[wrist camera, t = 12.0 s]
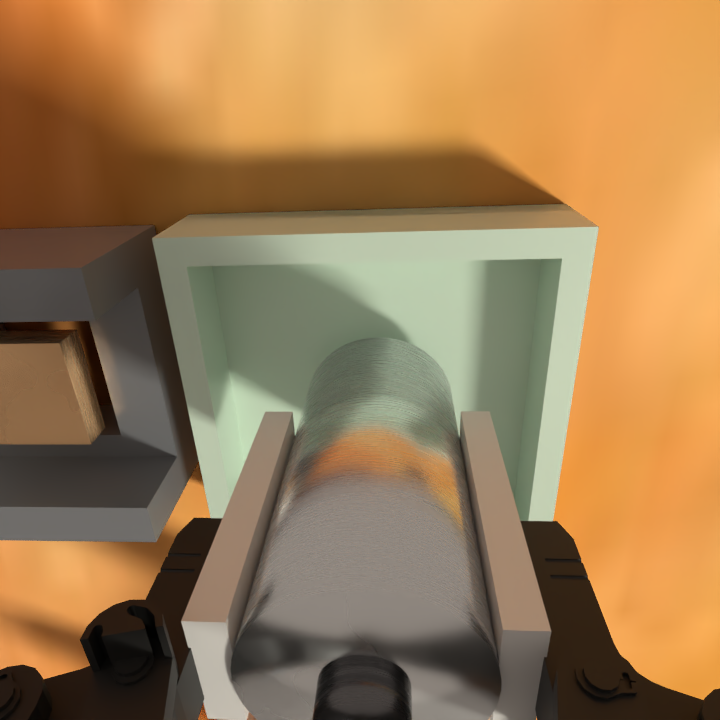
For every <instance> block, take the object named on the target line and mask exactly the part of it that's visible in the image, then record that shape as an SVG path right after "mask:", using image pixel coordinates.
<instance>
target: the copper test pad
mask: <svg viewBox="0 0 720 720" xmlns="http://www.w3.org/2000/svg"><path fill="white" fill-rule="evenodd" d="M104 428H105V423H104V420H103V417H102V413H101V410H100V406H99V403H98V400H97V396H96V393H95V389H94V386H93V383H92V379H91V376H90V372H89V369H88V366H87V362H86V359H85V355H84V352H83V349H82V345H81V342H80V338H79V335H78V332H77V330H22V331H0V444H92V443H93V441H94V440H95V439H96V438H97V437H98V436H99V434H100V433H101V432H102V431H103V430H104Z"/></svg>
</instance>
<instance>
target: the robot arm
mask: <svg viewBox="0 0 720 720" xmlns="http://www.w3.org/2000/svg"><path fill="white" fill-rule="evenodd" d="M294 438H295V429H294V420H293V412H265V414H264V416H263V418H262V421H261V423H260V426H259V428H258V431H257V433H256V436H255V438H254V441H253V443H252V446H251V448H250V451H249V453H248V456H247V458H246V461H245V463H244V466H243V468H242V471H241V473H240V476H239V478H238V481H237V483H236V486H235V488H234V491H233V493H232V496H231V498H230V501H229V503H228V506H227V508H226V511H225V513H224V516H223V518H194V519H193V520H191V521H190V522H189V523H188V524H187V525H186V526H185V527H184V528H183V529H182V530H181V531H180V532H179V533H178V534H177V536H176V538H175V540H174V542H173V544H172V546H171V548H170V550H169V553H168V557H166V559H165V561H164V563H163V565H162V567H161V572H160V573H158V575H157V577H156V579H155V581H154V583H153V585H152V587H151V590H150V592H149V594H148V596H147V598H146V600H128V601H125V602H122V603H118V604H115V605H113V606H111V607H110V608H108V609H107V610H105V611H103V612H102V613H100V614H99V615H98V616H97V617H96V618H95V619H94V620H93V621H92V622H91V623H90V624H89V625H88V626H87V628H86V630H85V631H84V633H83V635H82V637H81V639H80V641H81V644H82V646H83V648H84V651H85V653H86V656H87V658H88V661H89V663H90V666H88V667H86V668H83V669H80V670H77V671H73V672H69V673H66V674H62V675H58V676H55V677H51V678H47V679H44V680H43V678H42V676H41V675H40V674H39V672H38V671H37V670H36V669H35V668H33V667H29V666H26V665H18V666H11V667H6V668H4V669H1V670H0V720H198V717H199V714H200V711H201V708H202V704H203V703H204V707H205V710H206V714H207V718H208V719H227V720H247V718H248V714H249V711H248V710H247V709H246V707H245V706H244V705H243V703H242V702H241V701H240V699H239V697H238V695H237V693H236V691H235V688H234V685H233V682H232V677H231V658H232V655H233V651H234V648H235V644H236V641H237V637H238V634H239V630H240V627H241V623H242V620H243V616H244V613H245V609H246V606H247V602H248V599H249V595H250V592H251V588H252V585H253V581H254V578H255V574H256V571H257V567H258V564H259V560H260V557H261V554H262V550H263V547H264V543H265V540H266V536H267V533H268V529H269V526H270V522H271V519H272V515H273V512H274V508H275V505H276V501H277V498H278V494H279V491H280V487H281V484H282V480H283V477H284V473H285V470H286V466H287V463H288V459H289V456H290V452H291V449H292V445H293V442H294ZM459 439H460V445H461V450H462V456H463V462H464V467H465V473H466V479H467V485H468V490H469V496H470V502H471V508H472V513H473V519H474V525H475V531H476V536H477V542H478V548H479V554H480V559H481V565H482V571H483V577H484V582H485V588H486V594H487V600H488V605H489V611H490V617H491V623H492V628H493V634H494V640H495V646H496V651H497V657H498V663H499V668H500V674H501V693H500V697H499V701H498V704H497V706H496V708H495V710H494V712H493V713H492V715H491V716H490V720H536V716H537V720H720V689H715V690H713V691H712V692H711V693H710V694H709V695H708V696H707V697H706V698H705V699H704V700H701V699H698V698H695V697H692V696H689V695H686V694H683V693H680V692H677V691H674V690H671V689H668V688H665V687H663V686H660V685H658V684H656V683H653V682H651V681H650V680H648V679H646V678H645V677H643V676H642V675H640V674H639V673H637V672H636V671H635V669H634V668H633V667H632V666H631V664H630V663H629V662H628V661H627V660H626V659H624V658H623V657H622V656H621V655H620V654H619V652H618V650H617V648H616V647H615V645H614V643H613V640H612V638H611V635H610V632H609V630H608V627H607V625H606V622H605V620H604V617H603V614H602V612H601V609H600V607H599V604H598V601H597V599H596V596H595V594H594V591H593V588H592V586H591V583H590V581H589V580H588V576H587V573H586V570H585V568H584V565H583V563H581V557H580V555H579V552H578V550H577V547H576V544H575V542H574V539H573V538H572V537H571V536H570V535H569V534H568V533H567V532H566V530H565V529H564V528H563V527H562V526H561V525H560V524H559V523H558V522H557V521H520V518H519V515H518V511H517V507H516V504H515V500H514V497H513V493H512V490H511V486H510V482H509V479H508V475H507V472H506V468H505V465H504V461H503V458H502V454H501V450H500V447H499V443H498V440H497V436H496V433H495V429H494V425H493V422H492V418H491V415H490V411H461V418H460V437H459Z"/></svg>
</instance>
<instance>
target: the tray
mask: <svg viewBox="0 0 720 720" xmlns="http://www.w3.org/2000/svg"><path fill="white" fill-rule="evenodd" d="M598 228H599V227H598V226H597V225H595V224H594V223H593V222H591V221H590V220H588V219H587V218H585V217H584V216H582V215H581V214H580V213H578V212H577V211H575V210H574V209H572V208H571V207H569V206H568V205H567V204H540V205H504V206H469V207H433V208H398V209H363V210H327V211H292V212H257V213H221V214H189V215H188V216H186V217H185V218H183V219H181V220H180V221H178V222H177V223H175V224H173V225H172V226H170V227H169V228H167V229H166V230H164V231H162V232H161V233H159V234H158V235H156V236H154V237H153V238H152V241H153V246H154V251H155V255H156V260H157V265H158V270H159V274H160V279H161V284H162V289H163V293H164V298H165V303H166V308H167V312H168V317H169V322H170V327H171V331H172V336H173V341H174V346H175V350H176V355H177V360H178V365H179V369H180V374H181V379H182V384H183V388H184V393H185V398H186V403H187V407H188V412H189V417H190V422H191V427H192V431H193V436H194V441H195V446H196V450H197V455H198V460H199V465H200V469H201V474H202V479H203V484H204V488H205V493H206V498H207V503H208V507H209V512H210V517H211V518H223V516H224V513H225V511H226V508H227V506H228V503H229V501H230V498H231V496H232V493H233V491H234V488H235V486H236V483H237V481H238V478H239V476H240V473H241V471H242V468H243V466H244V463H245V461H246V458H247V456H248V453H249V451H250V448H251V446H252V443H253V441H254V438H255V436H256V433H257V431H258V428H259V426H260V423H261V421H262V418H263V416H264V414H265V412H293V420H294V429H295V435H296V431H297V428H298V424H299V421H300V417H301V414H302V410H303V407H304V403H305V400H306V396H307V393H308V389H309V386H310V383H311V379H312V377H313V375H314V373H315V371H316V369H317V368H318V366H319V365H320V363H321V362H322V361H323V360H324V359H325V358H326V357H327V356H328V355H329V354H331V353H332V352H333V351H335V350H336V349H338V348H339V347H341V346H343V345H345V344H348V343H350V342H353V341H356V340H360V339H365V338H375V337H382V338H392V339H398V340H401V341H405V342H408V343H410V344H412V345H415V346H417V347H418V348H420V349H422V350H423V351H425V352H426V353H427V354H429V355H430V356H431V357H432V358H433V359H434V360H435V361H436V362H437V363H438V364H439V365H440V367H441V368H442V369H443V371H444V373H445V375H446V376H447V378H448V381H449V384H450V387H451V393H452V398H453V404H454V410H455V416H456V421H457V427H458V433H459V437H460V418H461V411H490V415H491V418H492V422H493V425H494V429H495V433H496V436H497V440H498V443H499V447H500V450H501V454H502V458H503V461H504V465H505V468H506V472H507V475H508V479H509V482H510V486H511V490H512V493H513V497H514V500H515V504H516V507H517V511H518V515H519V518H520V521H553V517H554V511H555V504H556V498H557V491H558V485H559V479H560V472H561V466H562V459H563V453H564V446H565V440H566V434H567V427H568V421H569V414H570V408H571V402H572V395H573V389H574V382H575V376H576V369H577V363H578V357H579V350H580V344H581V337H582V331H583V324H584V318H585V312H586V305H587V299H588V292H589V286H590V280H591V273H592V267H593V260H594V254H595V247H596V241H597V235H598Z"/></svg>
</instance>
